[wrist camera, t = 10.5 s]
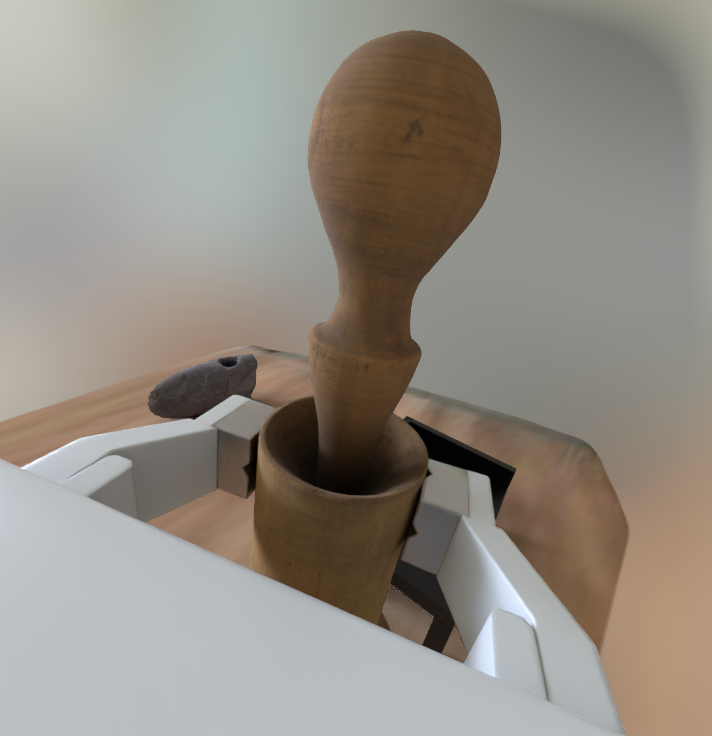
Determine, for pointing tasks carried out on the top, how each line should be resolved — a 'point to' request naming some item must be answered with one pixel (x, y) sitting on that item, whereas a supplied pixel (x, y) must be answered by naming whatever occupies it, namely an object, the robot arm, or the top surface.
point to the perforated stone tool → (204, 387)
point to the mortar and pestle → (371, 313)
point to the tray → (405, 575)
